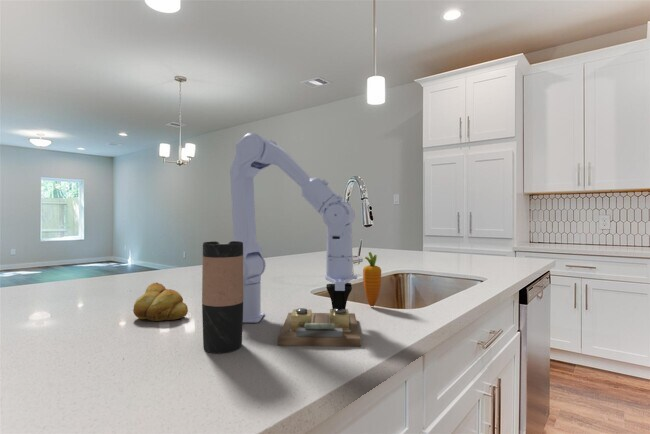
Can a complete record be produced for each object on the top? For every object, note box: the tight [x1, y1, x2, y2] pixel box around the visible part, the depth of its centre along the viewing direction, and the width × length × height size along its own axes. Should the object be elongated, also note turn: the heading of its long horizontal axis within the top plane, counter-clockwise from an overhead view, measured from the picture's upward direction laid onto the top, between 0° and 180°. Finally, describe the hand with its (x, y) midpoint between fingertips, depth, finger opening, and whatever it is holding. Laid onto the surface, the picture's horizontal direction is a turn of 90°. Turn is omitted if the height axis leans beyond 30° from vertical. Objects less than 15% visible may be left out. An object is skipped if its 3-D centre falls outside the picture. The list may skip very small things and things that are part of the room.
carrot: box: [362, 251, 382, 307], centre depth 102 cm, size 5×5×15 cm
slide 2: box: [329, 308, 350, 330], centre depth 79 cm, size 4×5×4 cm
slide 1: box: [291, 307, 313, 330], centre depth 79 cm, size 4×5×4 cm
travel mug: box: [201, 240, 244, 354], centre depth 71 cm, size 8×8×20 cm
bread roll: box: [132, 282, 189, 322], centre depth 90 cm, size 13×10×8 cm
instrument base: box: [277, 312, 362, 347], centre depth 81 cm, size 16×18×4 cm
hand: (338, 316), depth 83 cm, fingers closed
